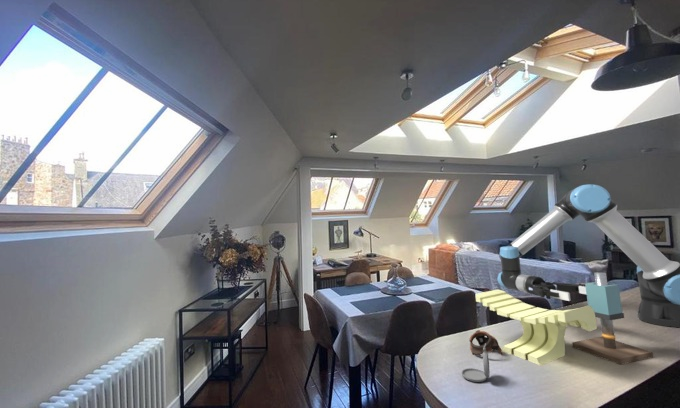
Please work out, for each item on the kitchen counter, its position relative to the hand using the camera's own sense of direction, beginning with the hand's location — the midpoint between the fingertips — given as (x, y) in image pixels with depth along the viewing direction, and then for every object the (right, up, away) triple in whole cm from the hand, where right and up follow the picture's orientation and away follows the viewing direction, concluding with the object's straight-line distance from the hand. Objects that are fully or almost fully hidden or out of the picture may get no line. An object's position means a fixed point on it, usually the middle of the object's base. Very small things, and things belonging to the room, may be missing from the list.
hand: (584, 294), depth 101 cm
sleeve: (+2, -4, -6) cm, 7 cm away
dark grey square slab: (+2, -5, -6) cm, 8 cm away
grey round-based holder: (-46, -18, -19) cm, 53 cm away
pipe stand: (+3, -17, -7) cm, 18 cm away
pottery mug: (-36, -19, -3) cm, 41 cm away
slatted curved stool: (-20, -18, -4) cm, 28 cm away
